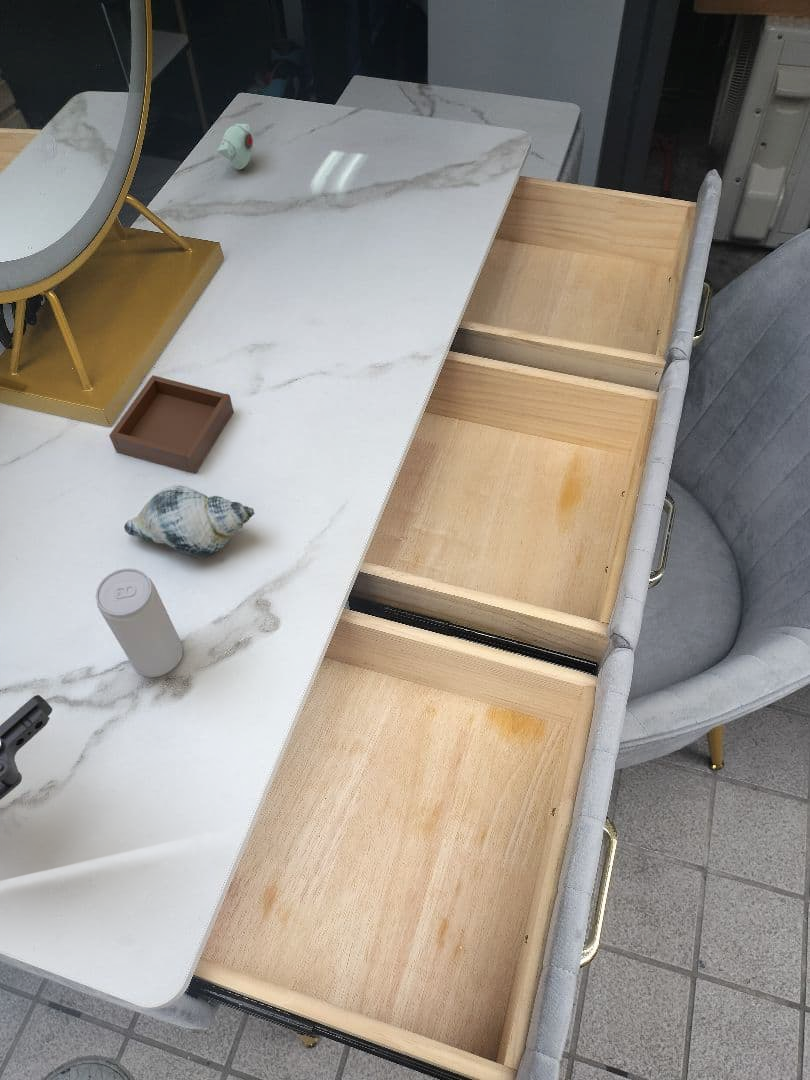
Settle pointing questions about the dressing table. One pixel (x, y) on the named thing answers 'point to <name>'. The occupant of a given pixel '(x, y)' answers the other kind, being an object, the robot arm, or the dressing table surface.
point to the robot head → (237, 145)
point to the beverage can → (139, 621)
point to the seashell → (189, 520)
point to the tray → (172, 424)
